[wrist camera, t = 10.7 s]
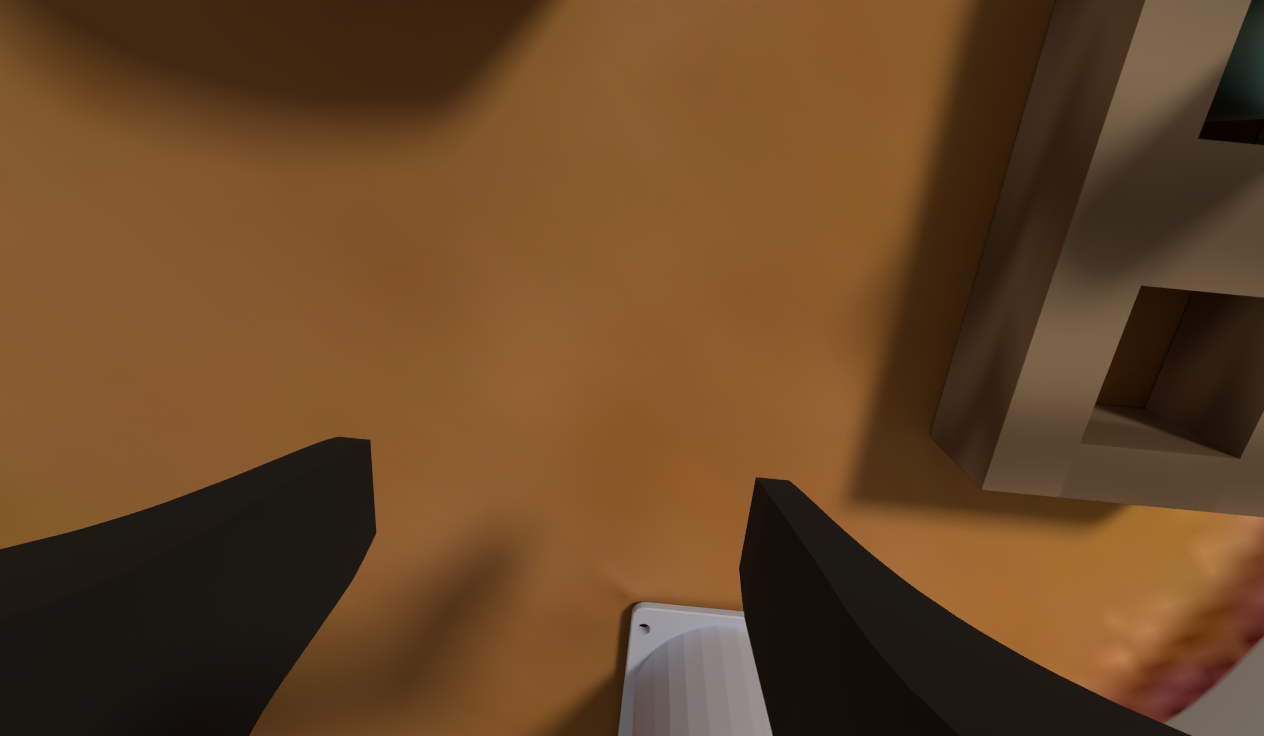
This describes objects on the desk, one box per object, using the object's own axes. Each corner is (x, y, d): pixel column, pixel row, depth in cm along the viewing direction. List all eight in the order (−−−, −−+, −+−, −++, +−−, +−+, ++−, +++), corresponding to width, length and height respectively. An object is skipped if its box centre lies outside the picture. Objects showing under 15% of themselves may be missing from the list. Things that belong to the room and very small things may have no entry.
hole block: (1190, 461, 21) (1290, 519, 18) (929, 435, 21) (981, 489, 18) (1448, -97, 15) (1665, -164, 12) (1094, -131, 15) (1214, -208, 12)
